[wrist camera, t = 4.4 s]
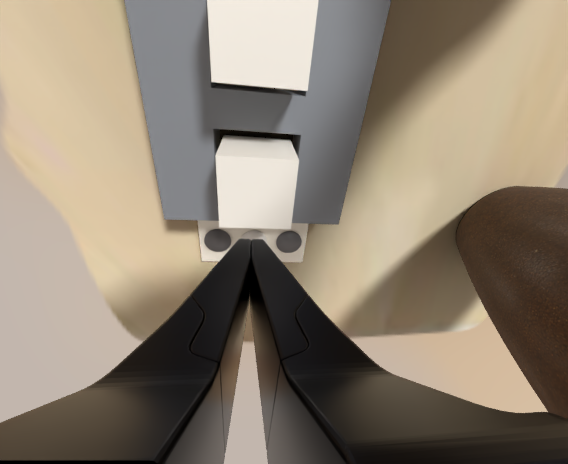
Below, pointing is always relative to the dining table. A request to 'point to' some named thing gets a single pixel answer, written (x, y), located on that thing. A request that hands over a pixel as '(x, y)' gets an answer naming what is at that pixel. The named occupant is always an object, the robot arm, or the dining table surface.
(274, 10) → the button middle
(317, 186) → the button board
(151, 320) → the dining table surface
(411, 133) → the dining table surface
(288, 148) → the button
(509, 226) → the plant pot
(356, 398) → the robot arm
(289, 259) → the pattern card
